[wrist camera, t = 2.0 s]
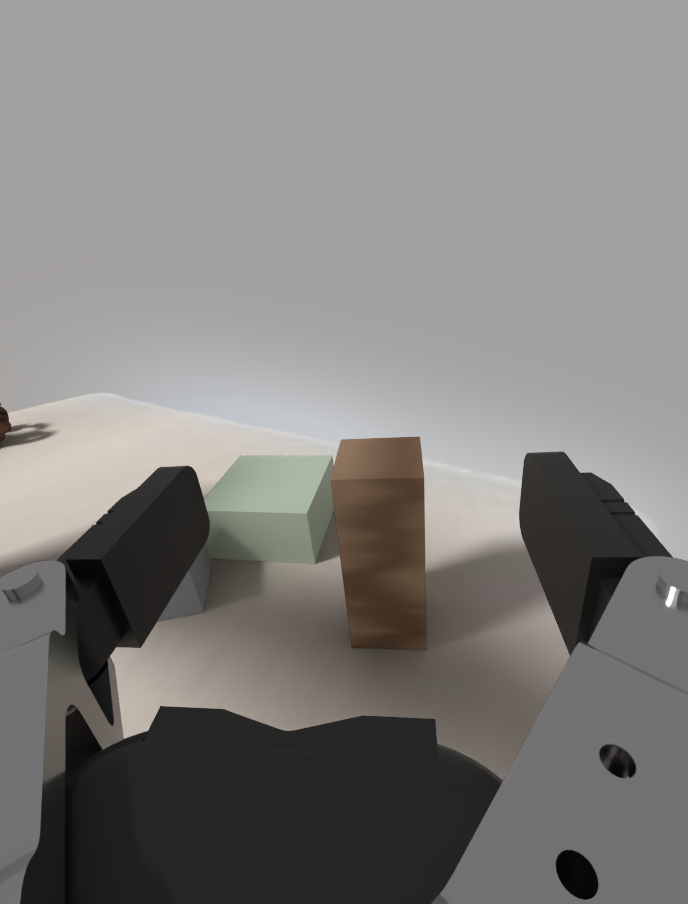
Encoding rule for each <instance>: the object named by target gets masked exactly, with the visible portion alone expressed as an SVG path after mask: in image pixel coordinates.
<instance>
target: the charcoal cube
mask: <svg viewBox="0 0 688 904" xmlns="http://www.w3.org/2000/svg"><path fill="white" fill-rule="evenodd" d="M211 569H212V563H211V560H210V556H209V553H208V550H207V546H206V543H205V545H204V546H203V548H202V550H201V551H200V553H199V554H198V556H197V558H196V559H195V561H194V562H193V564H192V566H191V567H190V569H189V571H188V572H187V574H186V575H185V577H184V579H183V580H182V582H181V584H180V585H179V587H178V588H177V590H176V592H175V593H174V595H173V596H172V598H171V600H170V601H169V603H168V605H167V606H166V608H165V609H164V611H163V613H162V614H161V616H160V617H159V619H158V621H162V620H167V619H173V618H178V617H184V616H189V615H195V614H200V613H203V612H204V607H205V601H206V596H207V591H208V585H209V580H210V574H211Z"/></svg>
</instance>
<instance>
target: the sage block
mask: <svg viewBox="0 0 688 904" xmlns="http://www.w3.org/2000/svg"><path fill="white" fill-rule="evenodd" d="M333 468H334V466H333V458H332V456H240V457H239V458H238V459H237V460H236V461H235V462H234V464H233V465H232V466H231V467H230V468H229V470H228V471H227V472H226V473H225V474H224V476H223V477H222V478H221V479H220V480H219V482H218V483H217V484H216V485H215V486H214V488H213V489H212V490H211V491H210V492H209V494H208V495H207V496H206V497H205V498H204V502H205V505H206V508H207V512H208V515H209V520H210V531H209V536H208V539H207V541H206V546H207V550H208V553H209V556H210V558H212V559H230V560H248V561H266V562H284V563H302V564H315V563H316V560H317V557H318V554H319V551H320V549H321V546H322V543H323V540H324V537H325V534H326V532H327V529H328V526H329V523H330V520H331V517H332V514H333V512H334V504H333V496H332V489H331V481H330V480H331V476H332V472H333Z"/></svg>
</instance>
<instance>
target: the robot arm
mask: <svg viewBox="0 0 688 904" xmlns="http://www.w3.org/2000/svg"><path fill="white" fill-rule="evenodd" d="M519 520H520V529H521V534H522V537H523V540H524V543H525V545H526V548H527V550H528V553H529V555H530V558H531V560H532V562H533V565H534V567H535V570H536V572H537V575H538V577H539V580H540V582H541V585H542V587H543V590H544V592H545V595H546V597H547V600H548V602H549V605H550V607H551V609H552V612H553V614H554V617H555V619H556V622H557V624H558V627H559V629H560V632H561V634H562V637H563V639H564V642H565V644H566V647H567V649H568V652H569V654H570V658H569V660H568V662H567V663H566V665H565V667H564V669H563V671H562V673H561V674H560V676H559V678H558V680H557V682H556V684H555V686H554V687H553V689H552V691H551V693H550V695H549V697H548V699H547V700H546V702H545V704H544V706H543V708H542V710H541V712H540V713H539V715H538V717H537V719H536V721H535V723H534V725H533V726H532V728H531V730H530V732H529V734H528V736H527V738H526V739H525V741H524V743H523V745H522V747H521V749H520V751H519V752H518V754H517V756H516V758H515V760H514V762H513V764H512V765H511V767H510V769H509V771H508V773H507V775H506V777H505V778H504V780H502V779H500V778H499V777H498V776H497V775H495V774H494V773H493V772H491V771H490V770H489V769H487V768H486V767H484V766H483V765H481V764H479V763H478V762H476V761H475V760H473V759H471V758H469V757H467V756H465V755H463V754H461V753H459V752H457V751H455V750H453V749H450V748H447V747H444V746H441V745H439V744H437V738H436V725H435V719H422V718H400V717H379V716H359V717H355V718H350V719H345V720H341V721H336V722H331V723H327V724H322V725H317V726H313V727H308V728H304V729H299V730H294V731H284V730H280V729H277V728H274V727H271V726H269V725H266V724H263V723H260V722H257V721H255V720H252V719H249V718H246V717H243V716H241V715H238V714H235V713H232V712H230V711H227V710H224V709H208V708H187V707H165V706H160V708H159V710H158V712H157V714H156V716H155V718H154V720H153V722H152V724H151V726H150V728H149V730H148V731H146V732H143V733H140V734H137V735H134V736H131V737H128V738H126V739H124V737H123V729H122V721H121V713H120V705H119V697H118V689H117V680H116V672H115V666H114V663H113V661H112V659H111V657H110V655H111V654H112V652H113V651H114V649H115V648H116V647H132V648H141V647H142V645H143V643H144V642H145V640H146V638H147V637H148V635H149V634H150V632H151V630H152V629H153V627H154V626H155V624H156V622H157V621H158V619H159V617H160V616H161V614H162V613H163V611H164V609H165V608H166V606H167V605H168V603H169V601H170V600H171V598H172V596H173V595H174V593H175V592H176V590H177V588H178V587H179V585H180V584H181V582H182V580H183V579H184V577H185V575H186V574H187V572H188V571H189V569H190V567H191V566H192V564H193V562H194V561H195V559H196V558H197V556H198V554H199V553H200V551H201V550H202V548H203V546H204V545H205V543H206V541H207V539H208V536H209V531H210V520H209V515H208V512H207V508H206V505H205V502H204V498H203V495H202V491H201V488H200V485H199V481H198V478H197V475H196V472H195V470H194V469H193V468H192V467H190V466H176V467H160V468H158V469H157V470H156V471H155V472H154V473H153V474H152V475H151V476H150V477H149V478H148V479H147V480H145V481H144V482H143V483H142V484H141V485H140V486H139V487H138V488H137V489H136V490H134V491H132V492H131V493H129V494H127V495H126V496H124V497H122V498H121V499H120V500H119V501H118V502H117V503H116V504H115V505H114V506H113V507H112V508H110V509H109V510H108V514H104V515H103V516H102V517H101V518H100V519H99V520H98V521H97V522H96V523H97V524H96V525H93V526H92V527H91V528H90V529H89V530H88V531H87V532H86V533H85V534H83V535H82V536H81V537H80V538H79V539H78V540H77V541H76V542H75V543H74V544H73V545H72V546H71V547H70V548H69V549H68V550H67V551H66V552H65V553H64V554H63V555H62V556H61V557H60V558H59V559H58V560H57V561H53V560H46V561H39V562H35V563H31V564H28V565H25V566H23V567H20V568H18V569H16V570H14V571H11V572H10V573H8V574H6V575H4V576H3V577H1V578H0V904H688V561H685V560H681V559H677V558H673V557H672V556H671V555H670V553H669V552H668V551H667V550H666V549H665V547H664V546H663V545H662V544H661V543H660V542H659V540H658V539H657V538H656V537H655V536H654V534H653V533H652V532H651V531H650V530H649V528H648V527H647V526H646V525H645V524H644V522H643V521H642V520H641V519H640V518H639V517H638V515H635V512H634V511H633V509H632V508H631V507H630V506H629V505H628V503H625V502H624V499H623V497H621V495H620V494H619V493H618V492H617V490H616V489H615V488H614V487H613V486H612V485H611V484H610V483H608V482H606V481H604V480H603V479H601V478H599V477H598V476H596V475H594V474H593V473H580V472H579V471H578V470H577V468H576V467H575V466H574V464H573V463H572V462H571V460H570V459H569V458H568V456H567V455H566V454H565V453H564V452H543V453H542V452H541V453H527V455H526V456H525V459H524V467H523V477H522V488H521V499H520V510H519Z"/></svg>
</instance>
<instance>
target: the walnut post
mask: <svg viewBox="0 0 688 904" xmlns="http://www.w3.org/2000/svg"><path fill="white" fill-rule="evenodd" d="M330 481H331V489H332V496H333V504H334V512H335V520H336V528H337V536H338V544H339V551H340V559H341V567H342V575H343V583H344V591H345V599H346V606H347V614H348V622H349V630H350V638H351V646H352V648H380V649H413V650H426V590H425V514H424V472H423V463H422V453H421V444H420V437H400V438H373V439H348V440H341V442H340V446H339V449H338V453H337V457H336V461H335V464H334V468H333V472H332V476H331V480H330Z"/></svg>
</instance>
